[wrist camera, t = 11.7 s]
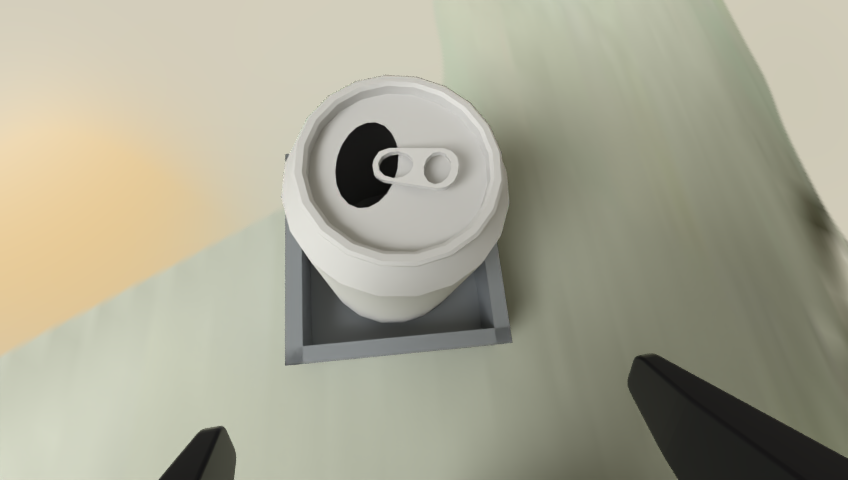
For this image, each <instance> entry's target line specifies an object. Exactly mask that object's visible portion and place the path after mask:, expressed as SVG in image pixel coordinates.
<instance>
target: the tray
mask: <svg viewBox="0 0 848 480" xmlns="http://www.w3.org/2000/svg"><path fill="white" fill-rule="evenodd" d="M288 156H289V154H286V158H285V159H286V160H287V158H288ZM286 160H285V161H286ZM285 163H286V162H285ZM505 343H512V337H511V330H510V324H509V317H508V311H507V304H506V298H505V291H504V285H503V278H502V272H501V265H500V259H499V252H498V246H497V242H496V244H495V245H494V246H493V248H492V249H491V251H490V252H489V254H488V255H487V257H486V258H485V260H484V261H483V263H482V264H481V265H480V266H479V267H478V268H477V269H476V270H475V271H474V272H473V273H472V274H471V275H470V276H468V277H467V278H466V279H465V280H464V281H463V282H462V283H461V284H460V285H459V286H458V287H457V288H456V289H455V290H454V291H453V292H452V293H451V294H450V295H449V296H448V297H447V298H446V299H445V300H444V301H443V302H442V303H441V304H439V305H438V306H436V307H435V308H434V309H432V310H431V311H430V312H428V313H427V314H426V315H424V316H422V317H419V318H416V319H413V320H410V321H407V322H404V323H380V322H377V321H374V320H371V319H368V318H365V317H362V316H360V315H358V314H357V313H356V312H354V311H353V310H352V309H350V308H349V307H348V306H346V305H345V304H344V303H342V301H341V300H340V299H339V297H338V296H337V295H336V294H335V292H334V291H333V290H332V288H331V287H330V286H329V285H328V283H327V282H326V281H325V279H324V278H323V277H322V275H321V274H320V273H319V272H318V270H317V269H316V268H315V266H314V265H313V264H312V263H311V261H310V260H309V258H308V257H307V255H306V254H305V252H304V251H303V250H302V248H301V247H300V245H299V244H298V242H297V241H296V239H295V238H294V236H293V235H292V233H291V232H290V229H289V225H288V221H287V217H286V214H285V366H286V365H296V364H306V363H316V362H326V361H336V360H346V359H356V358H366V357H376V356H386V355H396V354H406V353H416V352H426V351H436V350H446V349H456V348H466V347H476V346H486V345H496V344H505Z"/></svg>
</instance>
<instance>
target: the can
mask: <svg viewBox="0 0 848 480" xmlns="http://www.w3.org/2000/svg"><path fill="white" fill-rule="evenodd" d="M281 198H282V202H283V206H284V210H285V214H286V217H287V221H288V225H289V229H290V232H291V233H292V235H293V236H294V238H295V239H296V241H297V242H298V244H299V245H300V247H301V248H302V250H303V251H304V252H305V254H306V255H307V257H308V258H309V260H310V261H311V263H312V264H313V265H314V266H315V268H316V269H317V270H318V272H319V273H320V274H321V275H322V277H323V278H324V279H325V281H326V282H327V283H328V285H329V286H330V287H331V288H332V290H333V291H334V292H335V294H336V295H337V296H338V297H339V299H340V300H341V301H342V303H344V304H345V305H346V306H348V307H349V308H350V309H352V310H353V311H354V312H356V313H357V314H358V315H360V316H362V317H365V318H368V319H371V320H374V321H377V322H380V323H404V322H407V321H410V320H413V319H416V318H419V317H422V316H424V315H426V314H427V313H428V312H430V311H431V310H432V309H434V308H435V307H436V306H438V305H439V304H441V303H442V302H443V301H444V300H445V299H446V298H447V297H448V296H449V295H450V294H451V293H452V292H453V291H454V290H455V289H456V288H457V287H458V286H459V285H460V284H461V283H462V282H463V281H464V280H465V279H466V278H467V277H468V276H470V275H471V274H472V273H473V272H474V271H475V270H476V269H477V268H478V267H479V266H480V265H481V264H482V263H483V261H484V260H485V258H486V257H487V255H488V254H489V252H490V251H491V249H492V248H493V246H494V245H495V244H496V242H497V241H498V239H499V238H500V236H501V234H502V230H503V226H504V223H505V219H506V215H507V211H508V208H509V191H508V178H507V171H506V168H505V166H504V164H503V161H502V153H501V150H500V148H499V146H498V143H497V141H496V138H495V136H494V134H493V131H492V129H491V127H490V125H489V124H488V123H487V122H486V120H485V119H484V118H483V117H482V116H481V114H480V113H479V112H478V111H477V110H476V109H475V107H474V106H473V105H472V104H471V103H470V102H468V101H467V100H465V99H464V98H462V97H461V96H459V95H458V94H456V93H455V92H453V91H452V90H450V89H449V88H447V87H446V86H443V85H440V84H437V83H434V82H431V81H428V80H425V79H422V78H419V77H411V76H394V75H383V76H379V77H374V78H369V79H364V80H360V81H356V82H353V83H352V84H350V85H348V86H346V87H344V88H342V89H340V90H338V91H336V92H335V93H333V94H331V95H329V96H328V97H327V98H326V99H325V100H324V101H323V102H322V103H321V104H320V105H319V106H318V107H317V108H316V109H315V110H314V111H313V112H312V113H311V114H310V115H309V116H308V117H307V119H306V121H305V123H304V125H303V127H302V129H301V131H300V134H299V136H298V138H297V140H296V142H295V144H294V146H293V148H292V150H291V152H290V154H289V156H288V158H287V160H286V163H285V168H284V177H283V186H282V196H281Z"/></svg>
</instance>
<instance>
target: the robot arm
mask: <svg viewBox="0 0 848 480" xmlns="http://www.w3.org/2000/svg"><path fill="white" fill-rule="evenodd" d="M628 388H629V391H630V393H631V395H632V397H633V399H634V401H635V402H636V404H637V406H638V408H639V410H640V412H641V414H642V416H643V418H644V420H645V422H646V424H647V426H648V428H649V429H650V431H651V433H652V435H653V437H654V439H655V441H656V443H657V445H658V447H659V448H660V450H661V452H662V454H663V456H664V457H665V459H666V461H667V462H668V464H669V466H670V467H671V469H672V470H673V472H674V473H675V475H676V477H677V478H678V480H848V458H846V457H844V456H842V455H840V454H839V453H837V452H835V451H833V450H831V449H829V448H828V447H826V446H824V445H822V444H820V443H818V442H816V441H815V440H813V439H811V438H809V437H807V436H805V435H804V434H802V433H800V432H798V431H796V430H794V429H793V428H791V427H789V426H787V425H785V424H783V423H782V422H780V421H778V420H776V419H774V418H772V417H771V416H769V415H767V414H765V413H763V412H761V411H760V410H758V409H756V408H754V407H752V406H750V405H749V404H747V403H745V402H743V401H741V400H739V399H737V398H736V397H734V396H732V395H730V394H728V393H726V392H725V391H723V390H721V389H719V388H717V387H715V386H714V385H712V384H710V383H708V382H706V381H704V380H703V379H701V378H699V377H697V376H695V375H693V374H692V373H690V372H688V371H686V370H684V369H682V368H681V367H679V366H677V365H675V364H673V363H671V362H670V361H668V360H666V359H664V358H662V357H660V356H658V355H656V354H644V355H638V356H636V357H635V358H634V360H633V364H632V367H631V370H630V373H629V376H628ZM235 466H236V452H235V449H234V446H233V444H232V442H231V440H230V437H229V435H228V433H227V430H226V429H225V428H224V427H223V426H217V427H211V428H205V429H203V430H201V431H200V432H198V433H197V434H196V436H195V437H194V438H193V439H192V440H191V442H190V443H189V444H188V445H187V446H186V448H185V449H184V450H183V451H182V452H181V453H180V455H179V456H178V457H177V458H176V459H175V461H174V462H173V463H172V464H171V465H170V467H169V468H168V469H167V470H166V471H165V473H164V474H163V475H162V476H161V477H160V478H159V480H234V474H235Z"/></svg>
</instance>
